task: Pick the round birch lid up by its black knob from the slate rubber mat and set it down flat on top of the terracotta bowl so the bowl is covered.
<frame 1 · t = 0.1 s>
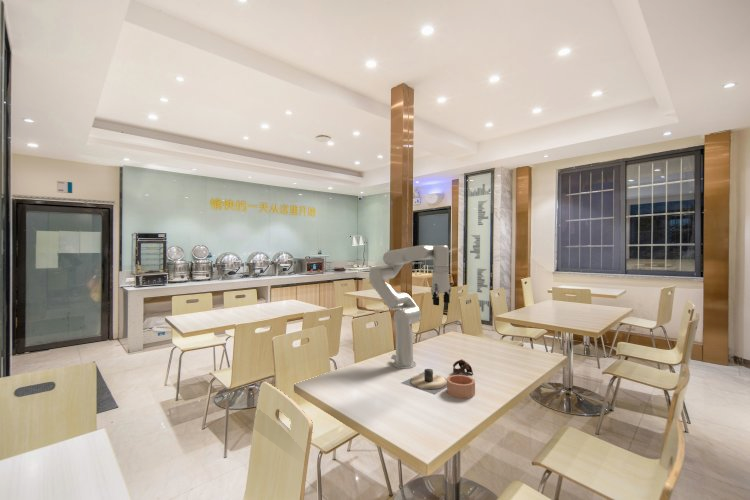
hand: (441, 303, 172), 37 cm above the table, tool pointing down, fingers open, 9 cm apart
lid: (428, 382, 163), resting on mat
mat: (428, 383, 163), on the table
bowl: (460, 393, 152), on the table
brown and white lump: (462, 374, 175), on the table
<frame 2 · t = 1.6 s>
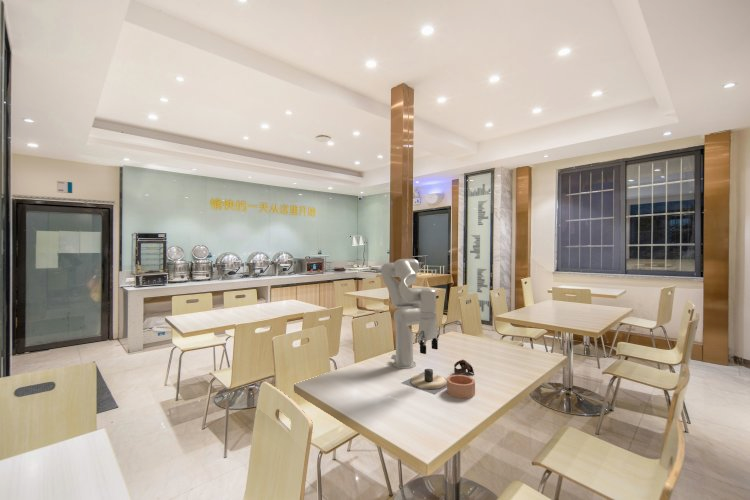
hand: (429, 351, 163), 16 cm above the table, tool pointing down, fingers open, 9 cm apart
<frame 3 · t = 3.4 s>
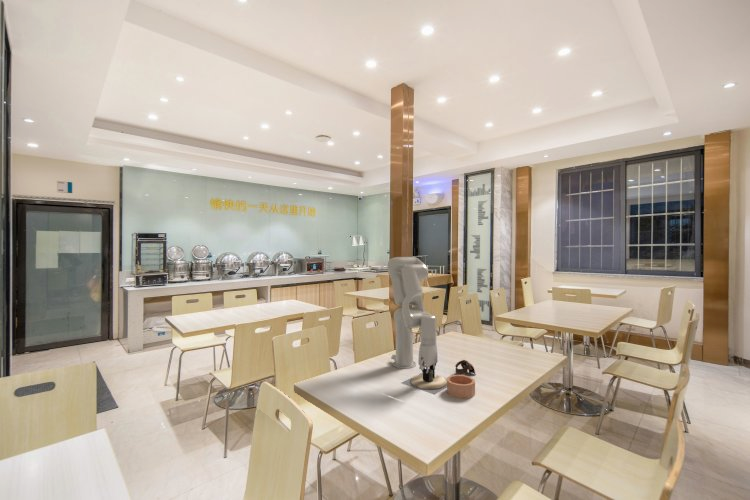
hand: (428, 378, 163), 2 cm above the table, tool pointing down, fingers closed on lid, 4 cm apart
lid: (428, 382, 163), point 1 cm above the table, touching gripper, mat
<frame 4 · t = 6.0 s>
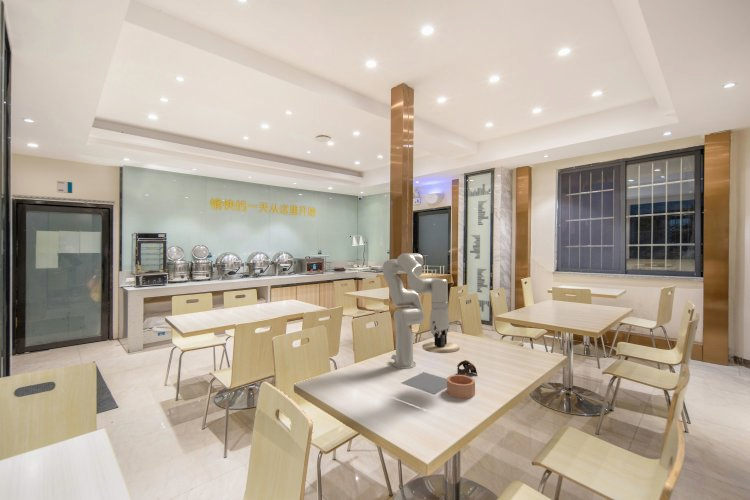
hand: (440, 344, 158), 20 cm above the table, tool pointing down, fingers closed on lid, 4 cm apart
lid: (440, 347, 158), point 18 cm above the table, touching gripper
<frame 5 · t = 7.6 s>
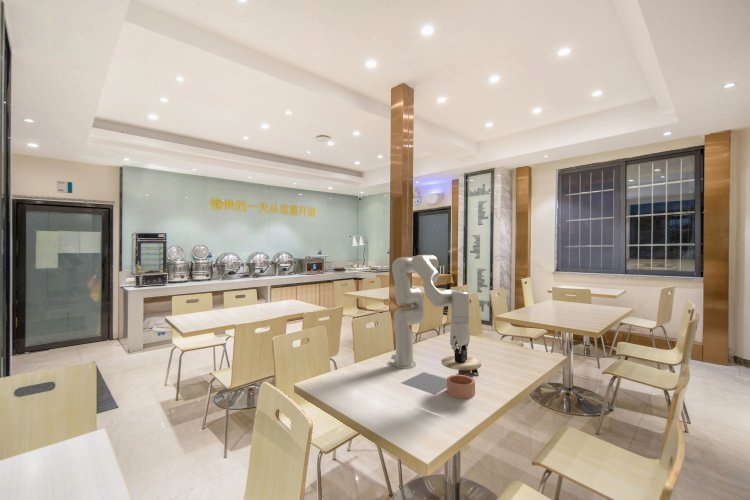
hand: (460, 360, 151), 15 cm above the table, tool pointing down, fingers closed on lid, 4 cm apart
lid: (461, 363, 151), point 13 cm above the table, touching gripper
when the fingers open (9 cm above the table, at t = 8.9 s): lid drops 1 cm, resting on bowl.
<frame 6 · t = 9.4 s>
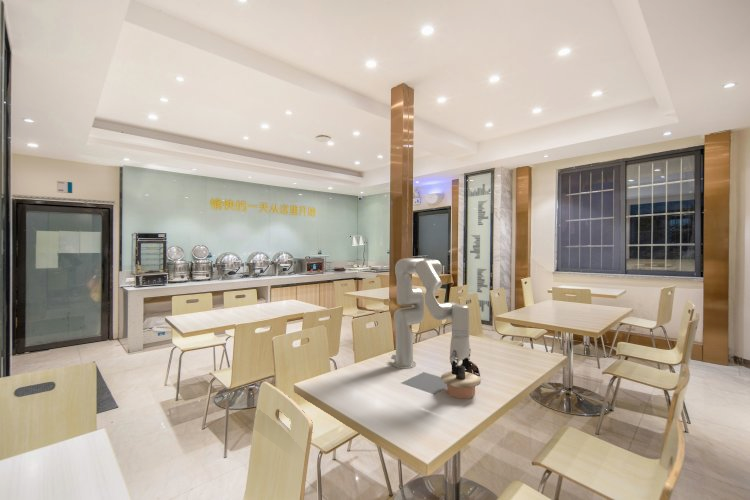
hand: (460, 371, 151), 10 cm above the table, tool pointing down, fingers open, 9 cm apart
lid: (460, 379, 152), point 6 cm above the table, touching bowl
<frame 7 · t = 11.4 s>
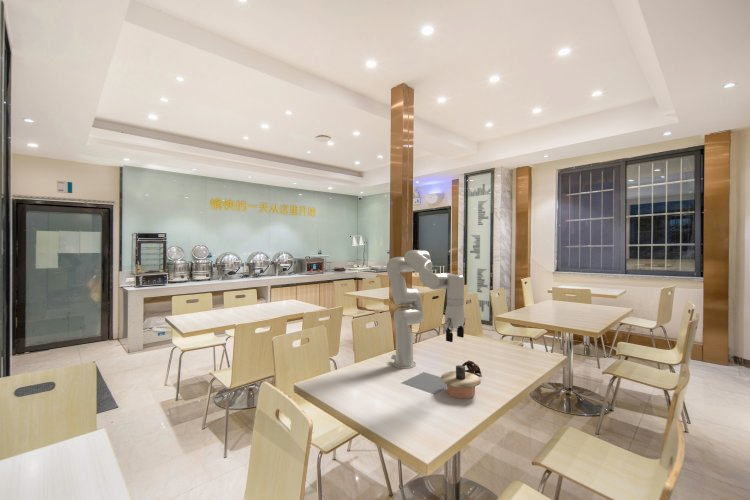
hand: (454, 339, 155), 23 cm above the table, tool pointing down, fingers open, 9 cm apart
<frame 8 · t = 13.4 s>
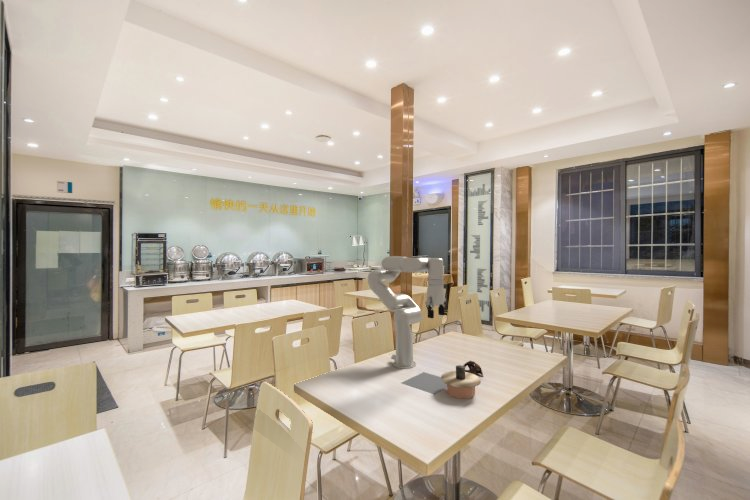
hand: (436, 316, 172), 30 cm above the table, tool pointing down, fingers open, 9 cm apart
at the end: lid 0.1 cm off-centre on the bowl, point 6.0 cm above the bowl's base; lid tilted 0°; lid touching bowl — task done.
